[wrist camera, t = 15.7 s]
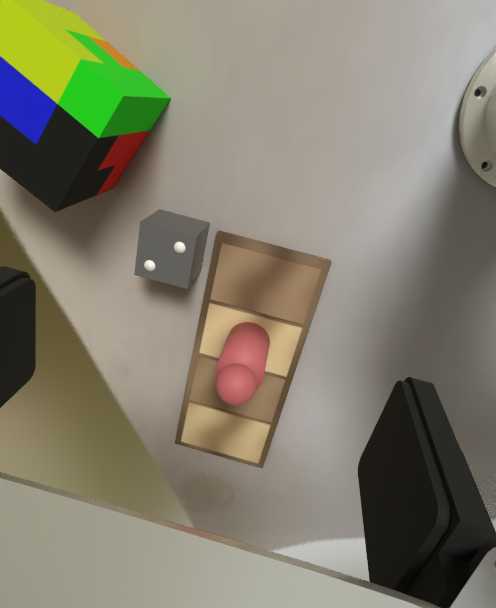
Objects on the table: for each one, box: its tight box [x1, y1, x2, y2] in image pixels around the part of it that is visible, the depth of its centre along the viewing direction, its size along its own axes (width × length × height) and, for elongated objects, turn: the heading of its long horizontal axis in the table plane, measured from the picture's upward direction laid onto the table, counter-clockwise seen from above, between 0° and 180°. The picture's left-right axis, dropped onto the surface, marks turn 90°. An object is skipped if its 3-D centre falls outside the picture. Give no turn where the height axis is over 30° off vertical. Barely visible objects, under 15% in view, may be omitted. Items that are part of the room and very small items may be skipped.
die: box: [134, 209, 210, 289], centre depth 40 cm, size 5×5×5 cm
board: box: [175, 231, 331, 468], centre depth 46 cm, size 11×27×1 cm, turn 167°
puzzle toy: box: [0, 0, 171, 212], centre depth 33 cm, size 10×10×10 cm
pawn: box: [216, 322, 270, 405], centre depth 40 cm, size 4×4×9 cm
